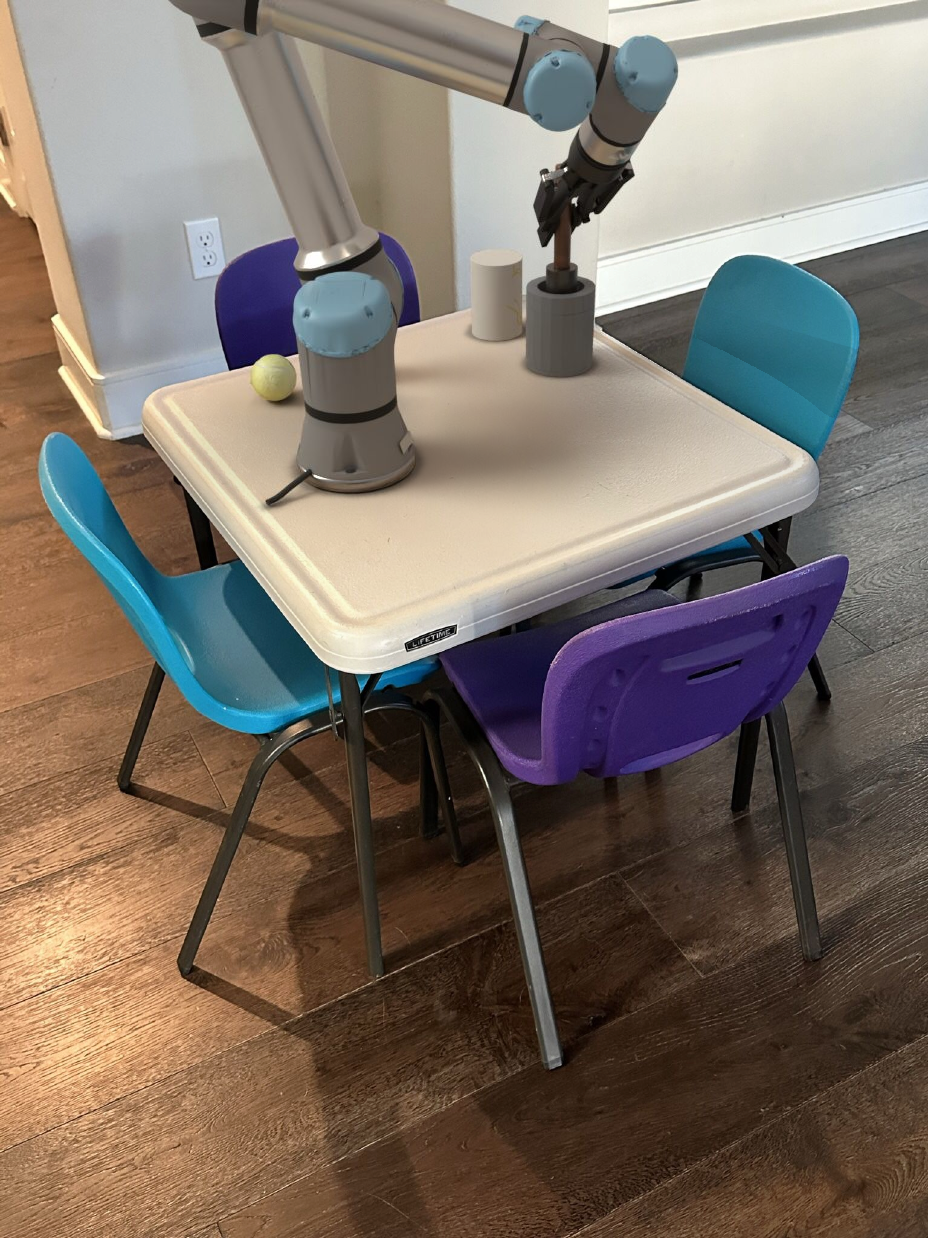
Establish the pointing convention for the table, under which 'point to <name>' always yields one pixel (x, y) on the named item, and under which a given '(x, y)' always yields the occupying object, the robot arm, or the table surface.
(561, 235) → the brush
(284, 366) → the tennis ball
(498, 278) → the cream marbled cylinder
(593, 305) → the grey thick-walled tube
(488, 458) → the table surface
